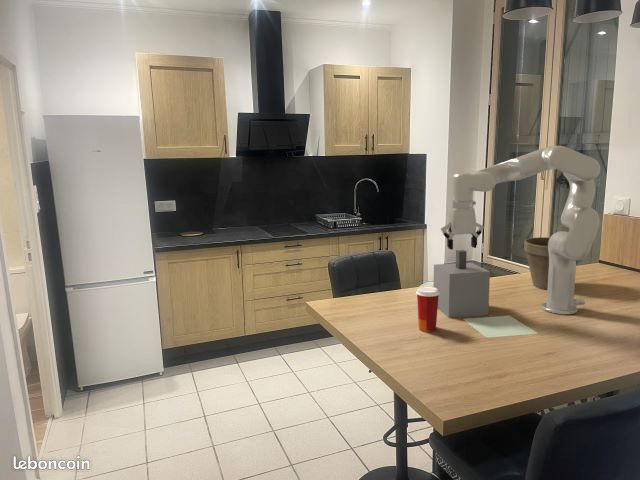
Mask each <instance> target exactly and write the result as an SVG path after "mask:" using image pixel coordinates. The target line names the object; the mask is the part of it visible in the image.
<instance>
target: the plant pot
mask: <svg viewBox="0 0 640 480" xmlns="http://www.w3.org/2000/svg"><path fill="white" fill-rule="evenodd" d="M549 239H550V237H548V236H547V237H539V236H538V237H530V238H525V239H524V242H523V245H524V246H523V250H524V252H526V253H525V254H526V259H527V263H528V268H529V272H530V278H531V282H532V285H533V286H534V287H535V288H538V289H541V290H546V291H547V289H548V273H549V252H548V242H549ZM578 262H579V260H578V261H576V266H577V265H578Z"/></svg>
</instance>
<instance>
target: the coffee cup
mask: <svg viewBox="0 0 640 480" xmlns="http://www.w3.org/2000/svg"><path fill="white" fill-rule="evenodd" d="M415 294H416V298H417V301H416V302H417V316H418V317H417V318H418V321H417V322H418V330H419V331H421V332H423V333H432V332H435V331H436V329H437V322H438V321H437V318H438V310H439V309H438V297H439V294H440V293H439V291H438V289H437V288H434V287H432V286H422V287H421V286H420V287H418V288H417V289H416V292H415Z"/></svg>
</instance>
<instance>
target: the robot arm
mask: <svg viewBox="0 0 640 480" xmlns="http://www.w3.org/2000/svg"><path fill="white" fill-rule="evenodd" d="M600 165H601V164H600V163H599V161H598V160H596V159H595V158H593V157H592V156H589V155H586V154H584V153H581V152H578V151H577V150H574V149H571V148H569V147H566V146H563V145H554V146H553V145H551V146H545V147H542V148H539V149H536V150H534V151H532V152H529V153H526V154H524V155H521V156H518V157H517V156H516V157H515V158H510V159H508V160H506V161H504V162H500V163H497V164H495V165H491V166H488V167H485V168H483V169H482V168H481V169H479V170H477V171H475V172H473V173H469V172H463V173H462V172H460V173H455V174H453V176H452V208H450V209H449V214H448V219H447V224H446V225H444V226H443V227H441V228H440V232H441V233H442V235H443V236H444V237H445V239H446V241H447V243H446V245H447V248H448V249H449V250H454V240H453V238H454V236H455V235H471V237H470V238H471V239H470V247H472V248H474V249H476V248H477V245H478V238H479V236H480V235H481V234H483V233H482V232H483V231H484V228H485V226H484V225H482V224H480V223H479V222H477V218H476V211H475V208H474V205H475V206H476V204H477V202H476V201H474V192H480V193H481V192H482V193H487V192H491V190H493V189H494V188H495V186H496V185H497V184H501V183H505V182H512V181H513V182H514V181H520V180H524V179H526V178H530V177H532V176H535V175H537V174H540V173H543V172H546V171H549V170H557V171H560V172H562V174H563V176H564V177H565V178H566V180H567V182H568V183H569V193H568V196H567V199H566V202H565V204H564V207H563V211H562V213H561V216H560V222H561V224H562V226H563V227H565V228H566V229H569V230H568V231H563V230H562V231H556V232H555V233H553V234H552V235H551V236H550V237H549V238H550V239H549V242H548V252H549V273H548V289H547V290H546V292H547V293H546V302H544V303H542V305H541V307H542V309H543V310H544V311H546V312H549V313H553V314H556V315H574V314H577V313H578V307H577V306H584V305H586V301H585V300H584V299H577V298H575V290H576V289H575V287H576V278H577V277H576V276H577V265H576V261H578V262H579V261H581V260H583V259H585V258H586V257H587V256H588V254H589V252H590V250H591V248H592V246H593V243H594V241H595V238H596V236H597V233H598V230H599V228H600V223H601V220H600V215H599V213H598V212H597V211H596V209H594V208H592V205H593V202H594V199H595V195H596V185H595V179H597V178H598V176H599V175H600V173H601V166H600ZM477 228H478V229H477ZM447 231H448V233H447Z"/></svg>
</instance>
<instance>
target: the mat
mask: <svg viewBox="0 0 640 480" xmlns="http://www.w3.org/2000/svg"><path fill="white" fill-rule="evenodd" d="M462 320H463V321H464V322H466V323H467V324H468V325H469V326H471V327H472V328H474V330H476V331H477V332H479V333H480V334H481V335H482V336H483V337H485V338H490V339H491V338H500V337H513V336H524V335H525V336H526V335H527V336H528V335H538V334H539V333H538V332H536V331H535V330H533V329H532V328H530V327H528V326H527V325H525V324H524V323H522V322H521V321H518V320H517V319H516V318H514V317H512V316H511V315H499V316H486V317H474V318H473V317H470V318H462Z"/></svg>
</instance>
